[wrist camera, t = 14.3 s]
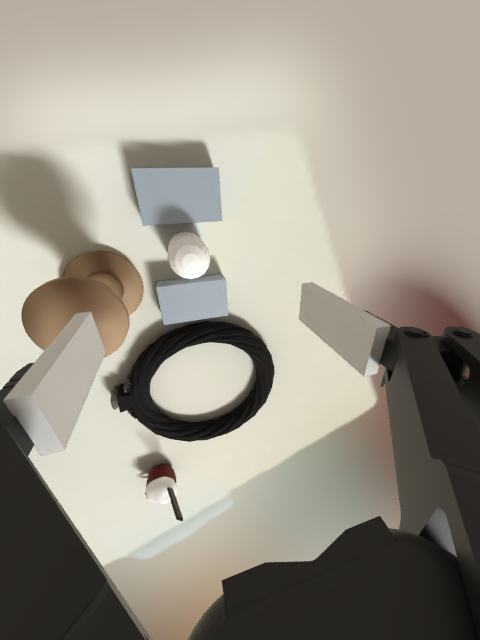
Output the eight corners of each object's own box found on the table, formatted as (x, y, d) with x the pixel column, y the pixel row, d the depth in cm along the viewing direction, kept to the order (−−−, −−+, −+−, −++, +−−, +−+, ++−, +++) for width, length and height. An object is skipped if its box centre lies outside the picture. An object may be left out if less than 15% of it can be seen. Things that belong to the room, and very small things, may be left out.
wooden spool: (79, 322, 35) (41, 373, 24) (52, 254, 30) (-8, 281, 20) (149, 313, 37) (142, 355, 27) (134, 247, 32) (118, 268, 22)
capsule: (159, 250, 33) (157, 262, 27) (185, 223, 33) (189, 228, 26) (187, 275, 36) (192, 293, 29) (212, 250, 35) (222, 262, 29)
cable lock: (267, 432, 53) (121, 460, 44) (261, 419, 56) (124, 442, 48) (288, 323, 41) (94, 333, 33) (279, 314, 44) (101, 321, 36)
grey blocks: (164, 316, 38) (163, 325, 35) (134, 171, 29) (130, 168, 26) (224, 308, 40) (228, 315, 37) (214, 170, 31) (218, 167, 28)
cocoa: (149, 481, 55) (143, 548, 45) (137, 468, 52) (128, 537, 41) (188, 467, 56) (191, 529, 46) (179, 453, 52) (179, 517, 42)
